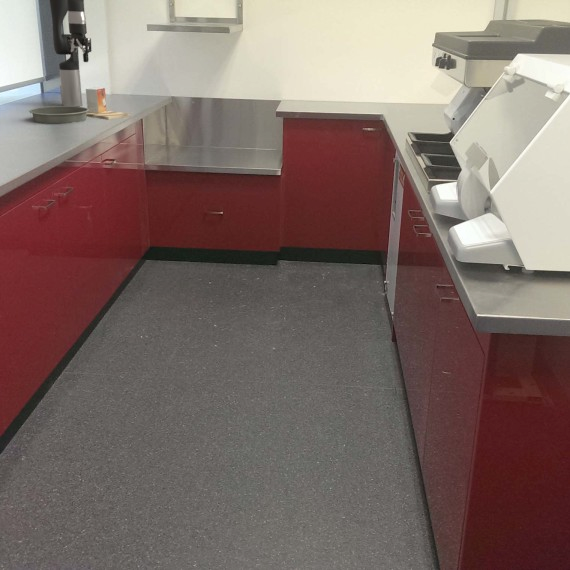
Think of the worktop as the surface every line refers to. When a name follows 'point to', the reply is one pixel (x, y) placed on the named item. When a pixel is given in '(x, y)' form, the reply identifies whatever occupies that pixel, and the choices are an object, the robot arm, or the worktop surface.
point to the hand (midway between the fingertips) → (80, 61)
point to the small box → (96, 100)
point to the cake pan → (59, 114)
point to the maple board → (108, 115)
